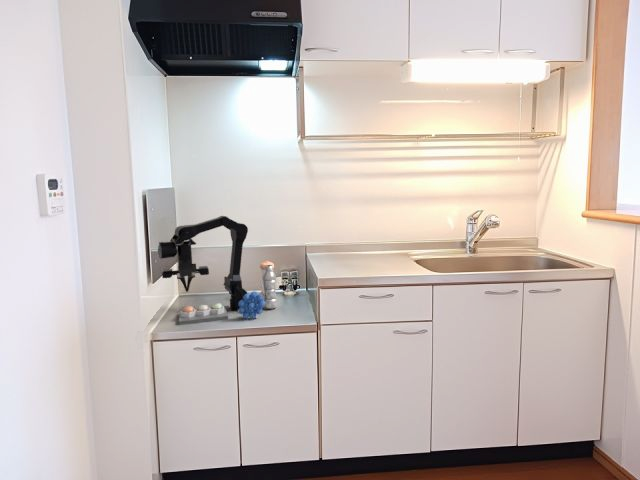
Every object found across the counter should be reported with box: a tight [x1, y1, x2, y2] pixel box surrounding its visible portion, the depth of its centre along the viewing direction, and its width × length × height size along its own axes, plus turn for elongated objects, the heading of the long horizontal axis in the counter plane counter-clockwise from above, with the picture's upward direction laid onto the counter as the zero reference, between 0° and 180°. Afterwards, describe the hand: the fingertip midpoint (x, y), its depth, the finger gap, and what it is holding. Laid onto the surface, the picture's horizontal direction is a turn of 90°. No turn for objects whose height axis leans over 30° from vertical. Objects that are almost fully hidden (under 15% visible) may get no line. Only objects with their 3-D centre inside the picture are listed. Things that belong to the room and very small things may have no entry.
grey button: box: [197, 304, 209, 311], centre depth 188 cm, size 4×4×2 cm
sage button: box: [211, 302, 223, 310], centre depth 190 cm, size 4×4×2 cm
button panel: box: [178, 305, 229, 326], centre depth 189 cm, size 20×14×4 cm
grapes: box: [237, 290, 265, 320], centre depth 185 cm, size 12×7×12 cm, turn 99°
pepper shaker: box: [259, 260, 275, 300], centre depth 214 cm, size 7×7×19 cm
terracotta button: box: [182, 305, 194, 313], centre depth 186 cm, size 4×4×2 cm
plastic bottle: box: [261, 265, 278, 310], centre depth 198 cm, size 6×7×20 cm
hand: (187, 291), depth 185 cm, fingers closed
